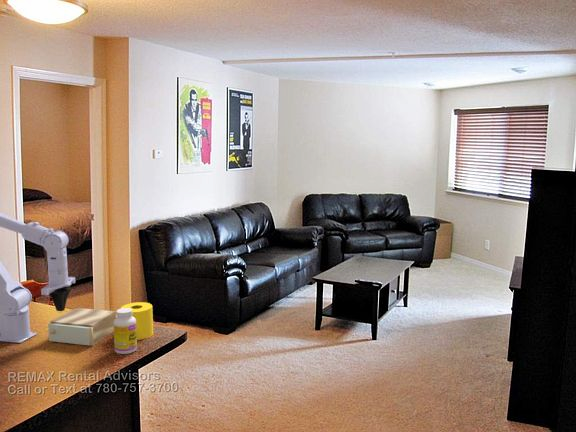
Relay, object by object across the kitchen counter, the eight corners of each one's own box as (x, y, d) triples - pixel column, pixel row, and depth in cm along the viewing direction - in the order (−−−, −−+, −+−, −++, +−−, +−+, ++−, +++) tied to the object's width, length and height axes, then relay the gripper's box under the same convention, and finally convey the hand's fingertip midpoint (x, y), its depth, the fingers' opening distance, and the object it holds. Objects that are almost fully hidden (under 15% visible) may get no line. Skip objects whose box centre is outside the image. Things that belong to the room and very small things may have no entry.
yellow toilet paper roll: (145, 326, 187) (144, 300, 185) (158, 335, 179) (157, 307, 178) (117, 333, 181) (116, 306, 179) (129, 342, 173) (128, 314, 171)
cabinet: (51, 340, 174) (50, 321, 173) (77, 325, 187) (75, 307, 186) (93, 345, 171) (92, 325, 170) (116, 329, 184) (115, 311, 183)
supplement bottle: (130, 355, 163) (128, 314, 161) (110, 353, 164) (108, 313, 162) (141, 347, 169) (139, 307, 167) (121, 345, 171) (119, 306, 168)
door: (94, 344, 170) (93, 327, 169) (90, 347, 168) (89, 329, 167) (51, 339, 174) (50, 322, 173) (47, 342, 172) (45, 325, 171)
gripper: (54, 276, 164) (57, 319, 167) (82, 264, 178) (84, 304, 181) (34, 274, 166) (37, 317, 168) (63, 263, 180) (66, 302, 182)
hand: (60, 310), depth 174 cm, fingers closed
